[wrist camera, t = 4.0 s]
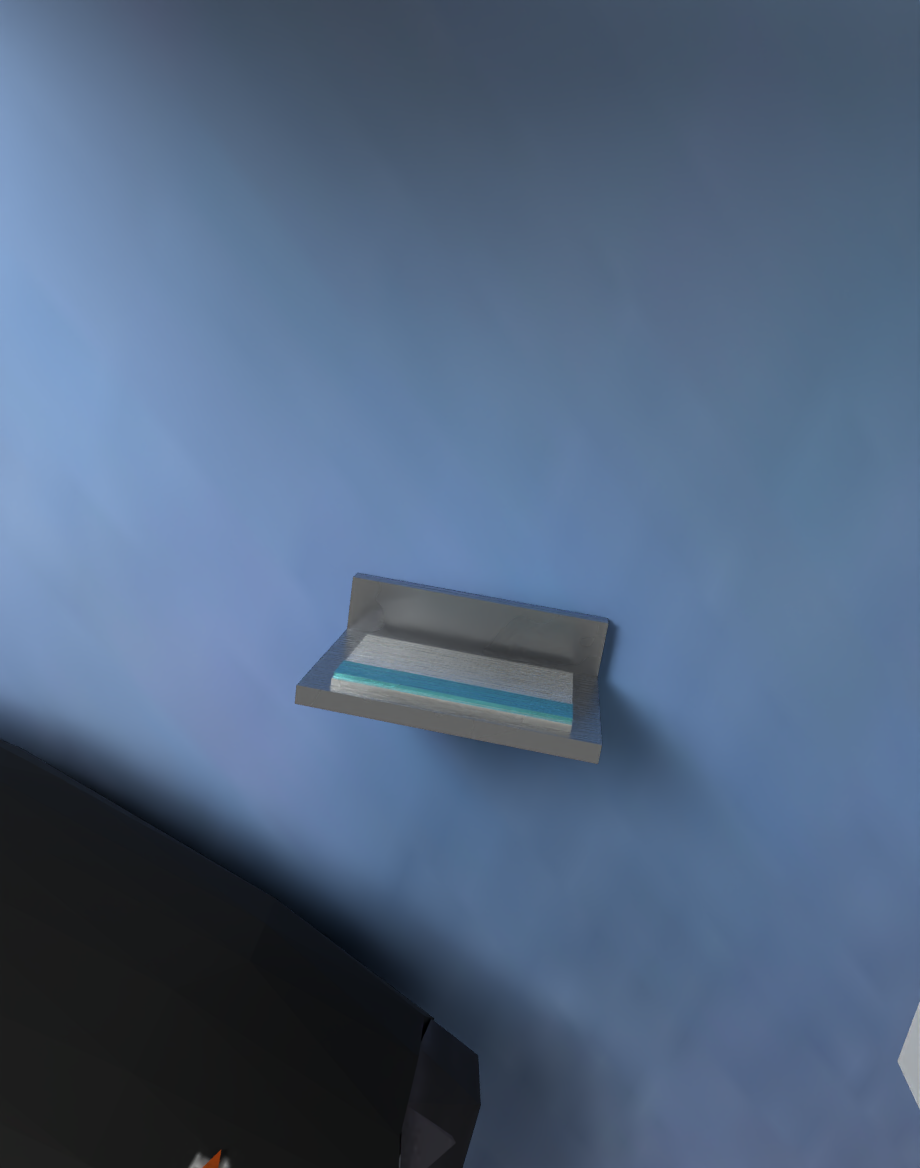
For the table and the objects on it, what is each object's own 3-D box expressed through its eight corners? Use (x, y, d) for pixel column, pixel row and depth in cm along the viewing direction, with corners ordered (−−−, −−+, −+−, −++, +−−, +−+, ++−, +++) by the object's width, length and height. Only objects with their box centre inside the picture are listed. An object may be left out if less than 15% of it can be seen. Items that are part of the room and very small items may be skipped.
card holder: (357, 572, 19) (302, 622, 15) (607, 618, 19) (615, 681, 15) (344, 687, 20) (289, 762, 16) (583, 734, 19) (585, 823, 16)
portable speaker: (513, 1191, 14) (-455, 623, 14) (244, 1649, 14) (-714, 1082, 14) (497, 957, 22) (-105, 606, 23) (329, 1243, 23) (-268, 892, 23)
